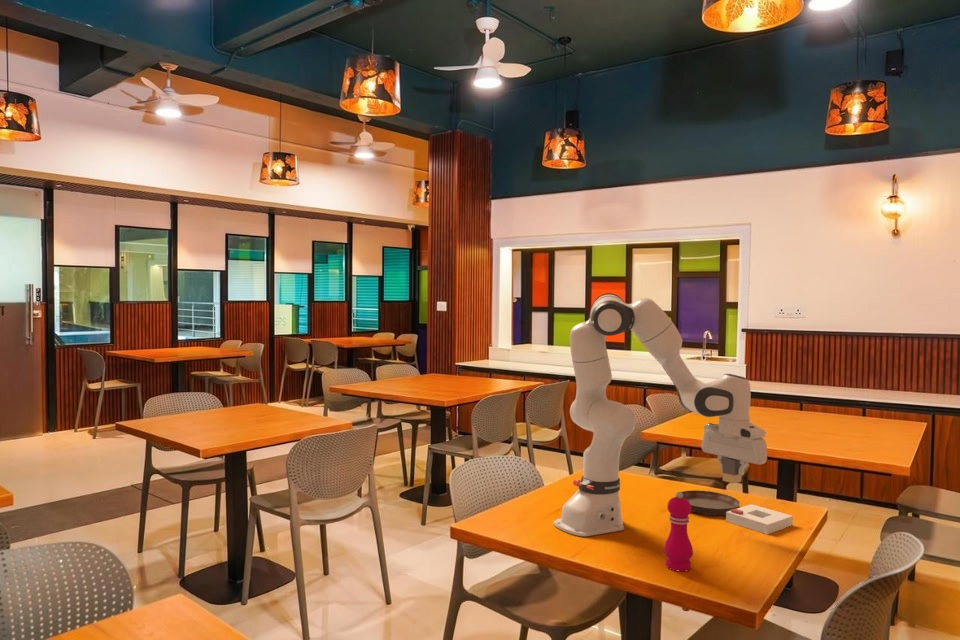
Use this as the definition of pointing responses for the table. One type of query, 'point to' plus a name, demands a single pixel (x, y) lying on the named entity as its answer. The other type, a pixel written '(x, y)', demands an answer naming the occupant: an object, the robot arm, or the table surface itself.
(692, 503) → the plant saucer
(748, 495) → the table surface
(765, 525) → the socket plate
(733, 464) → the plug
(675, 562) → the pepper mill
